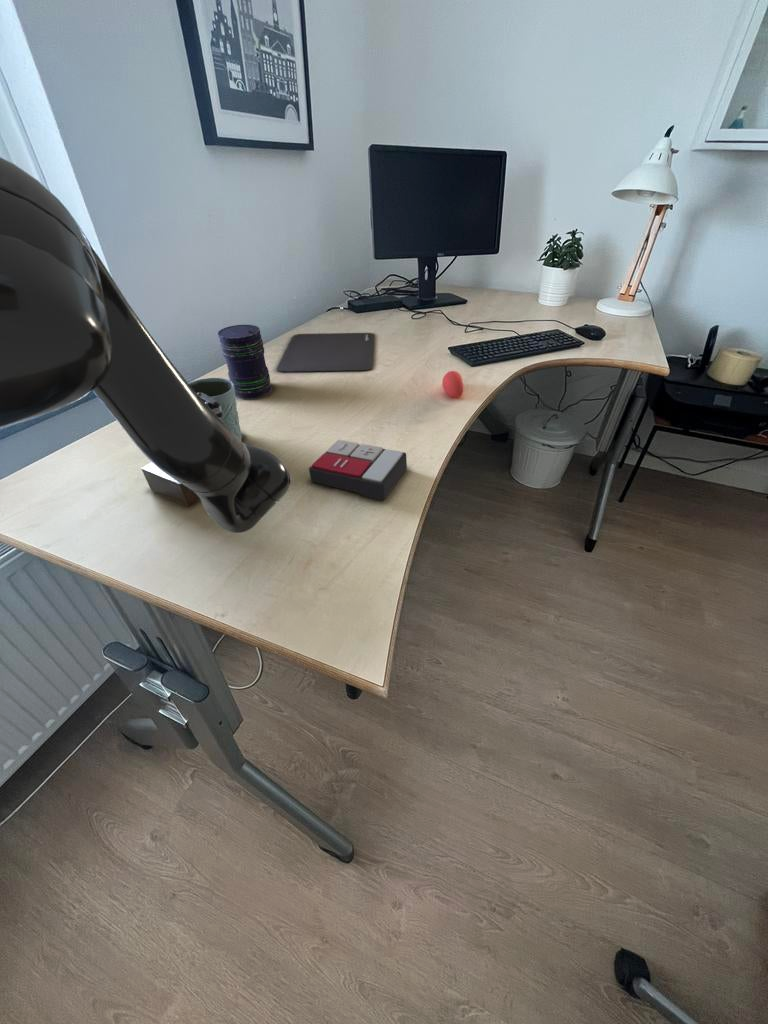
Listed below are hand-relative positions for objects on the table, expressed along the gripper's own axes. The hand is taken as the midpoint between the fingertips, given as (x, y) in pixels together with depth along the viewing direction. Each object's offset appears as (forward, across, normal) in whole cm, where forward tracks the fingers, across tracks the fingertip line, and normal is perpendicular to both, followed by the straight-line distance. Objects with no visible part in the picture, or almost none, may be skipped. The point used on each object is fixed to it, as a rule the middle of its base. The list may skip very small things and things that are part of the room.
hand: (157, 401), depth 72 cm
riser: (-2, 0, +16) cm, 16 cm away
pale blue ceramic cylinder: (+9, -11, +16) cm, 21 cm away
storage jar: (+28, -28, +16) cm, 42 cm away
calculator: (-21, -25, +16) cm, 36 cm away
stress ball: (-8, -65, +16) cm, 67 cm away
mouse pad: (+37, -58, +16) cm, 71 cm away
